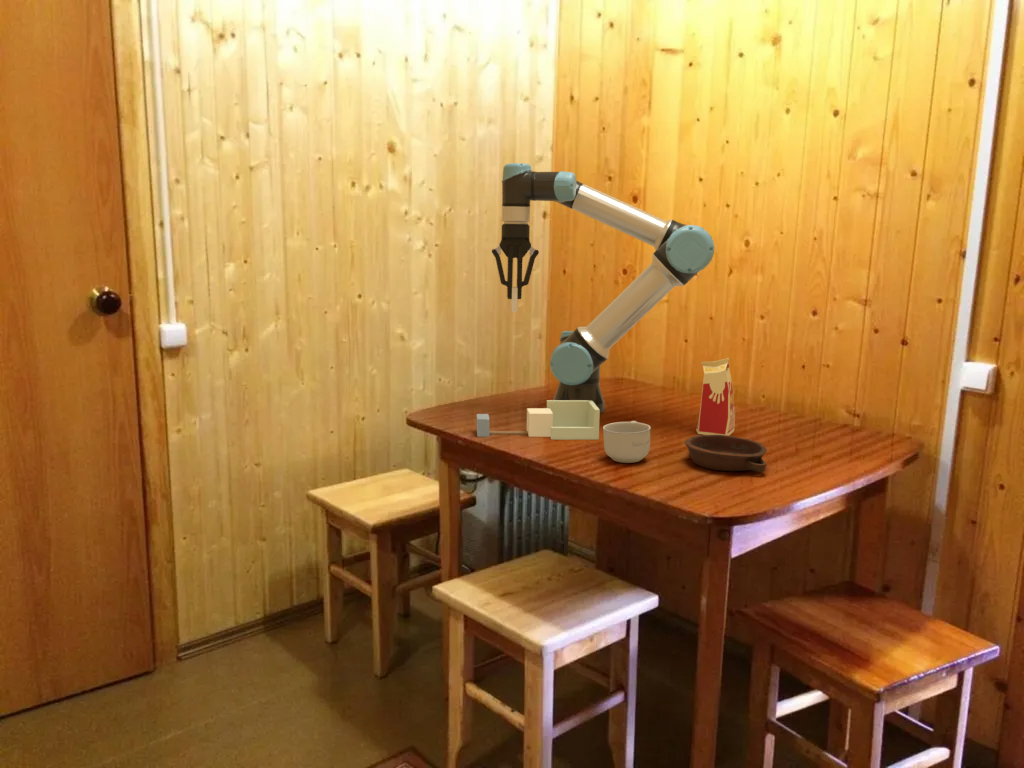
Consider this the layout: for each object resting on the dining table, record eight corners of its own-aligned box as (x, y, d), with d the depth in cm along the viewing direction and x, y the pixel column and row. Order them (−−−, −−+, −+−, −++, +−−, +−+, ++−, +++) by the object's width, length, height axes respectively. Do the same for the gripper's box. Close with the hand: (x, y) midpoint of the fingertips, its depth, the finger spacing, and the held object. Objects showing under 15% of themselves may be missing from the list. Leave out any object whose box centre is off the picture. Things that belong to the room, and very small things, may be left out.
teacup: (637, 469, 179) (639, 434, 177) (593, 461, 184) (595, 427, 183) (661, 455, 190) (663, 422, 189) (619, 447, 196) (620, 415, 194)
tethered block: (549, 430, 211) (550, 408, 210) (552, 436, 205) (553, 413, 204) (476, 430, 209) (476, 408, 208) (477, 436, 203) (477, 413, 202)
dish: (734, 483, 170) (736, 461, 169) (661, 458, 188) (662, 437, 187) (788, 471, 180) (790, 450, 179) (714, 448, 198) (715, 428, 197)
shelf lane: (591, 428, 214) (592, 400, 213) (598, 439, 203) (599, 410, 201) (546, 428, 213) (546, 400, 212) (551, 439, 202) (552, 409, 201)
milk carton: (734, 430, 215) (739, 356, 211) (728, 438, 207) (733, 361, 203) (700, 426, 219) (704, 353, 215) (692, 433, 211) (697, 358, 207)
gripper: (538, 223, 221) (536, 310, 225) (490, 222, 220) (489, 309, 224) (541, 223, 213) (539, 312, 218) (492, 222, 212) (490, 312, 217)
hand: (514, 311), depth 221 cm, fingers closed
